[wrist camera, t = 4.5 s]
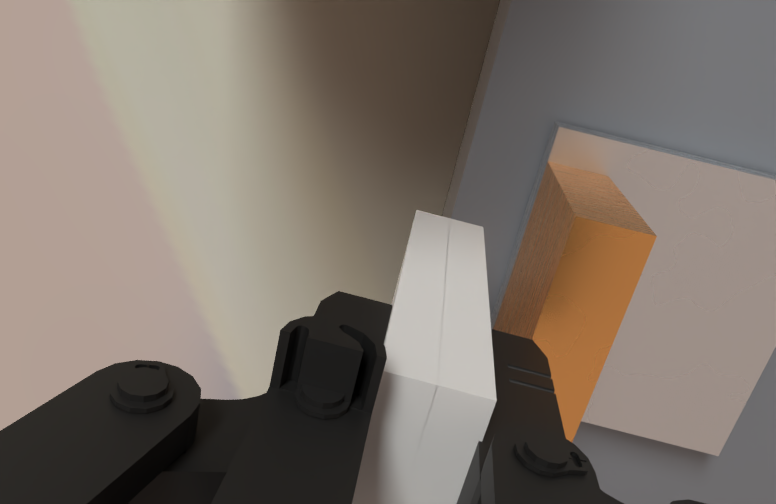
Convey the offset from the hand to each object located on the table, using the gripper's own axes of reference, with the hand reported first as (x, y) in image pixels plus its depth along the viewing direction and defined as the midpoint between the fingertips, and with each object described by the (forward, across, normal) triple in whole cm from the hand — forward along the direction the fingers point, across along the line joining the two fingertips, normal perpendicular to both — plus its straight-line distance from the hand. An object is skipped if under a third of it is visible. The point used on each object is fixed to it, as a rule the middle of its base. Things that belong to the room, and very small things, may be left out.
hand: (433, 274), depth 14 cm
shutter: (+2, +5, 0) cm, 6 cm away
